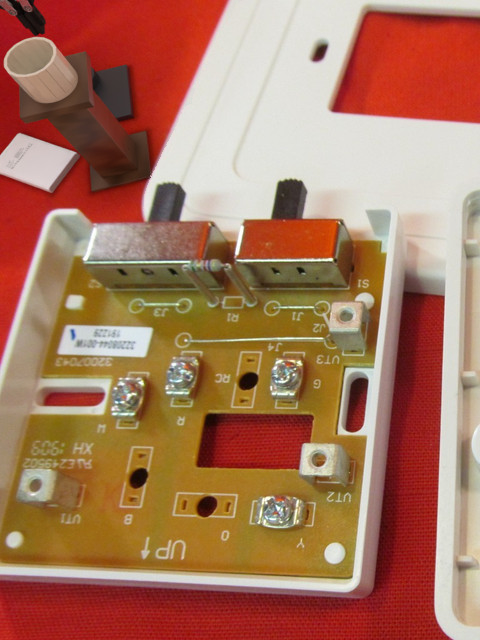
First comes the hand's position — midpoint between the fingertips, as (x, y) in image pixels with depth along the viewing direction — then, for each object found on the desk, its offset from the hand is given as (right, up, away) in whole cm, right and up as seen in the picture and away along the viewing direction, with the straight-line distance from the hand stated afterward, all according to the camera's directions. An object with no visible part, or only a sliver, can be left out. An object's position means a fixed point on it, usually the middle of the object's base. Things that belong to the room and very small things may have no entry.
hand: (39, 28), depth 111 cm
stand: (+10, -20, +5) cm, 24 cm away
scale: (+4, -8, +11) cm, 14 cm away
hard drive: (-4, -21, +6) cm, 22 cm away
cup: (+10, -14, -11) cm, 20 cm away
